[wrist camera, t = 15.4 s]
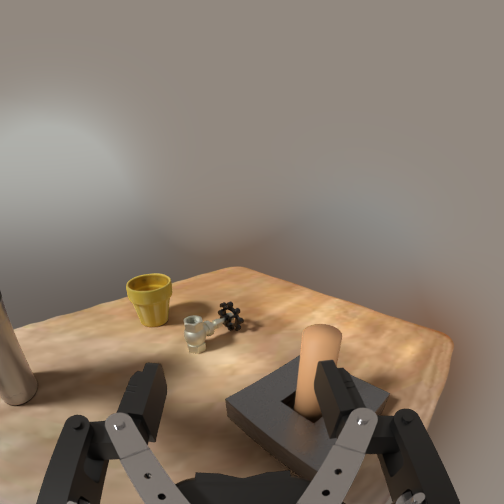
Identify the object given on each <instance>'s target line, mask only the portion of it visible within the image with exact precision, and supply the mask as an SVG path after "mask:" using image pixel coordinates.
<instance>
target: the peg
mask: <svg viewBox="0 0 504 504" xmlns="http://www.w3.org/2000/svg"><path fill="white" fill-rule="evenodd" d="M341 340H342V333H341V332H340V331H339V330H338V329H337V328H335V327H333V326H330V325H326V324H315V325H311V326H308V327H307V328H305V329H304V330H303V332H302V342H301V352H300V362H299V371H298V380H297V389H296V397H295V405H294V411H295V412H297V413H298V414H300V415H301V416H303V417H304V418H306V419H307V420H309V421H310V422H312V423H316V422H317V421H318V420H319V419H320V418H321V417H322V413H321V410H320V407H319V404H318V401H317V398H316V395H315V391H314V379H315V374H316V369H317V364H318V362H319V361H324V360H334V362H335V364H336V366H337V361H338V356H339V351H340V345H341Z"/></svg>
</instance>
